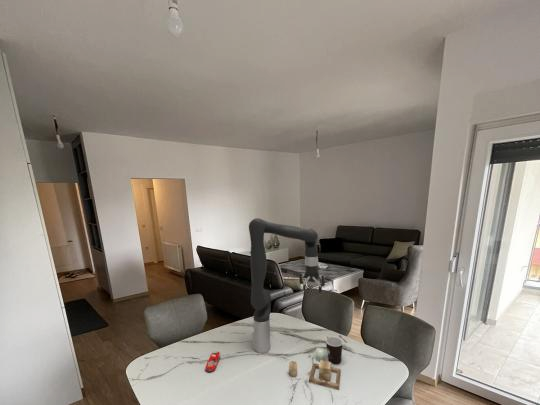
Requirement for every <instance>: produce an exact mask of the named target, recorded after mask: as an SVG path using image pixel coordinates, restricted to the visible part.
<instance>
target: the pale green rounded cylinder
mask: <svg viewBox="0 0 540 405" xmlns="http://www.w3.org/2000/svg"><path fill="white" fill-rule="evenodd" d="M315 357H316V358H315V360H316V361H317V362H318V361H319V362H318V363H320V360H322V361H324V360H325V349H324V348H323V347H317V348H316V349H315ZM325 361H326V360H325Z"/></svg>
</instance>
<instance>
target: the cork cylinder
mask: <svg viewBox="0 0 540 405" xmlns="http://www.w3.org/2000/svg"><path fill="white" fill-rule="evenodd" d="M288 375H289V377H290V378H296V377H298V363H297V362H296V361H293V360H292V361H290V362H288Z"/></svg>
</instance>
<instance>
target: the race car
mask: <svg viewBox="0 0 540 405" xmlns="http://www.w3.org/2000/svg"><path fill="white" fill-rule="evenodd" d="M220 359H221V352H220V351H215V350H214V351H212V352H211V354H210V355H209V358H208V360H207V361H206V365H205V371H206V372H207V373H212V372H215V371H216V369H217V366H218V365H219V362H220Z"/></svg>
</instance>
